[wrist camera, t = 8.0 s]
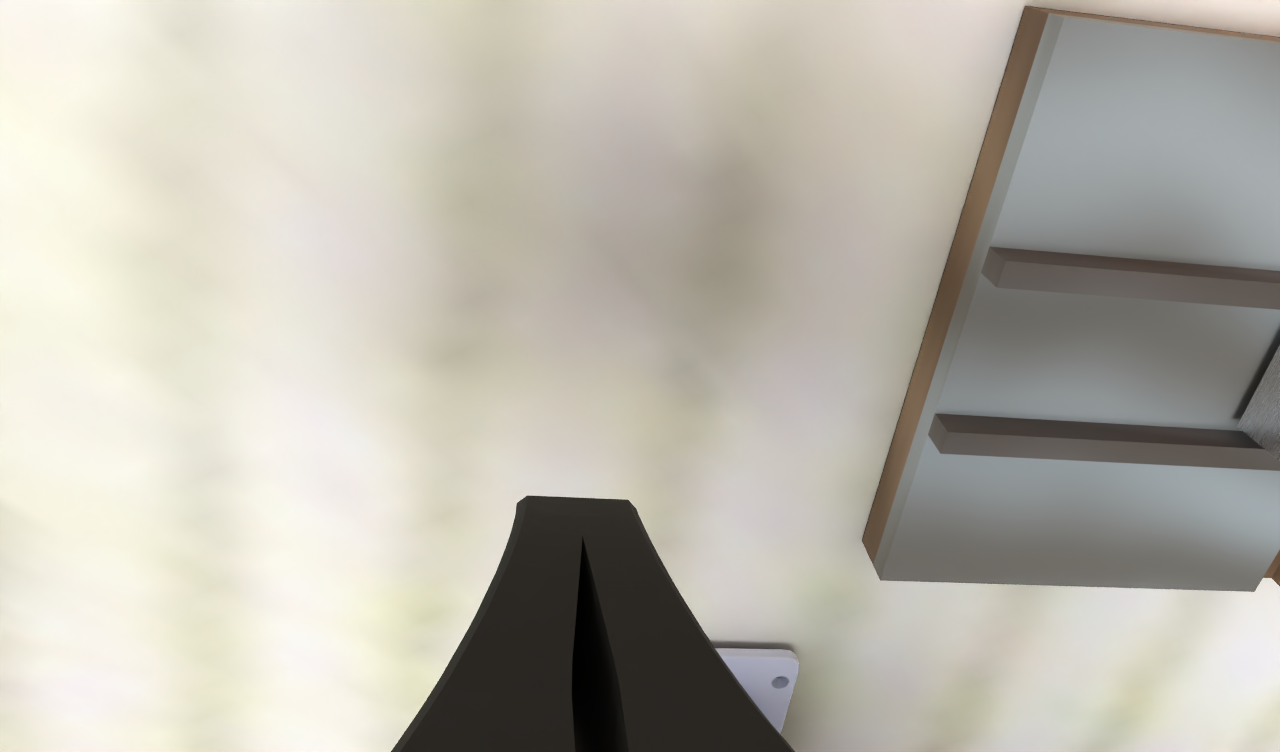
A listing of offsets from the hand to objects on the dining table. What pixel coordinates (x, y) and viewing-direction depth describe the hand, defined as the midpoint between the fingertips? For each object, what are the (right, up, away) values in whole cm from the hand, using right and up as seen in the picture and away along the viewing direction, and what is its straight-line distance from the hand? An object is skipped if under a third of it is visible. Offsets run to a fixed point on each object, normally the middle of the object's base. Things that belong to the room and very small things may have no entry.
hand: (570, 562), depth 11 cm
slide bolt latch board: (+19, +3, +12) cm, 23 cm away
